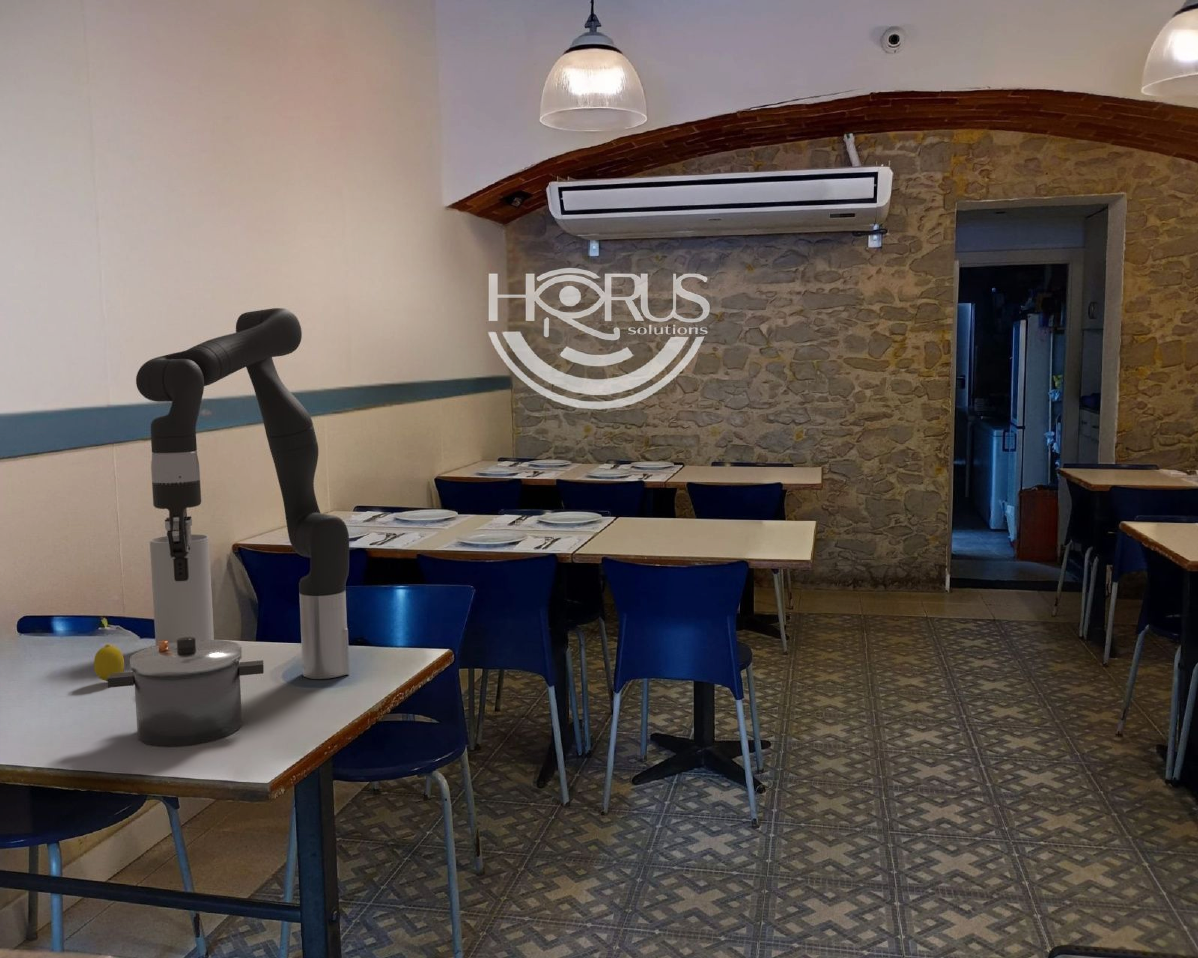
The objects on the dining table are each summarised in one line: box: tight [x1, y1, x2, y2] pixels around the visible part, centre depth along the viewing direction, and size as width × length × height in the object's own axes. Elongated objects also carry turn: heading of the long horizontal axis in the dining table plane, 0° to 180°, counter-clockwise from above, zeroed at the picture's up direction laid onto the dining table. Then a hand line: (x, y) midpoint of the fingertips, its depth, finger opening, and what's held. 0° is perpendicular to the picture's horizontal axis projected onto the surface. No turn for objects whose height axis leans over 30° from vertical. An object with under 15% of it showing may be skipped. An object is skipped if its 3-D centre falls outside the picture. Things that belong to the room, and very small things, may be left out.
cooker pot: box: [107, 659, 265, 748], centre depth 181 cm, size 25×18×12 cm
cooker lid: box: [129, 637, 243, 676], centre depth 179 cm, size 18×18×4 cm
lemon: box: [93, 643, 125, 683], centre depth 209 cm, size 6×6×8 cm
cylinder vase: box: [149, 533, 215, 646], centre depth 238 cm, size 12×12×25 cm
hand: (181, 580), depth 176 cm, fingers closed
